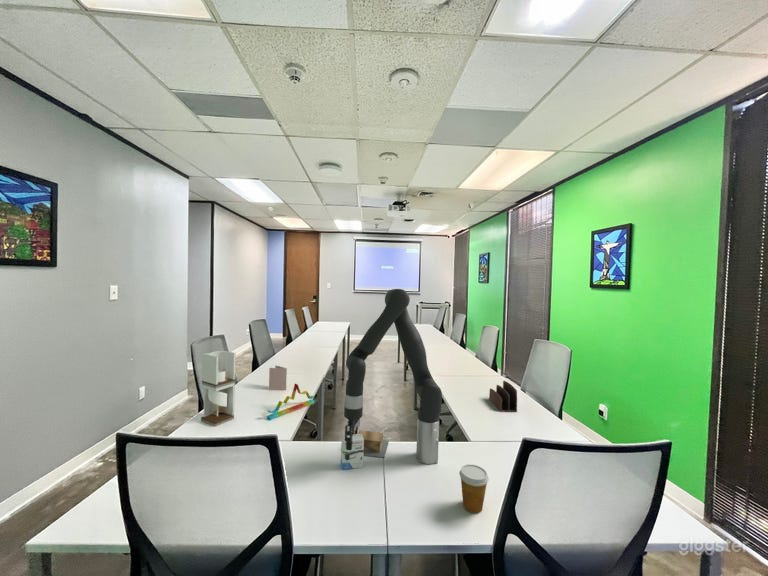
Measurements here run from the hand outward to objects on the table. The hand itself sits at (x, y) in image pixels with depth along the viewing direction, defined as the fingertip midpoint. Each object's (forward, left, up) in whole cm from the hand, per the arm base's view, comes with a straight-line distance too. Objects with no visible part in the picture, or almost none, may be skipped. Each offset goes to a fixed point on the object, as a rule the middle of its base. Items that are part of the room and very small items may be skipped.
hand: (351, 444), depth 126 cm
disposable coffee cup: (-46, +14, -9) cm, 49 cm away
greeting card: (+72, -73, -9) cm, 103 cm away
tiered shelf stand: (+79, -24, -9) cm, 83 cm away
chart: (+47, -44, -9) cm, 65 cm away
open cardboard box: (-4, -15, -8) cm, 18 cm away
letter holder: (-76, -82, -9) cm, 112 cm away
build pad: (-4, -15, -9) cm, 18 cm away
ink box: (0, 0, -9) cm, 9 cm away
